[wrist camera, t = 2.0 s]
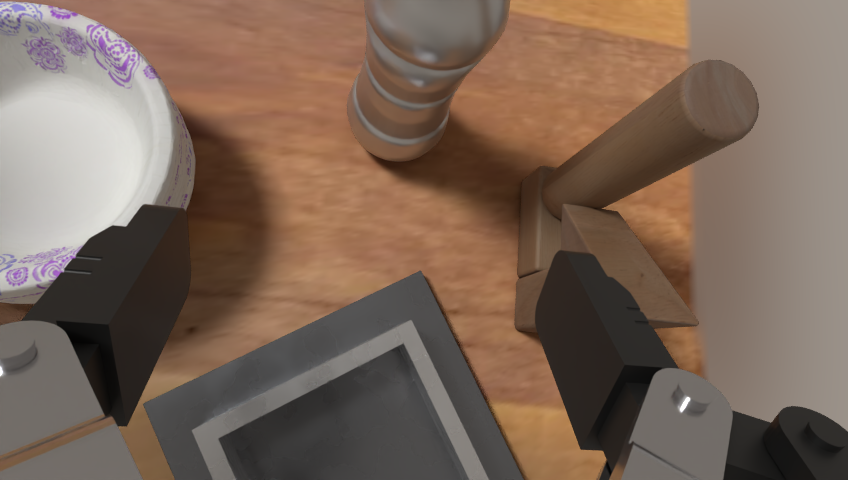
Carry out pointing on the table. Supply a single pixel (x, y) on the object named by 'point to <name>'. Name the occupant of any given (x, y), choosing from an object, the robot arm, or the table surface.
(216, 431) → the plate
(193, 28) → the table surface
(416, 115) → the silver metal bottle
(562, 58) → the table surface
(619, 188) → the brown wooden block stack
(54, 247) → the paper bowls
